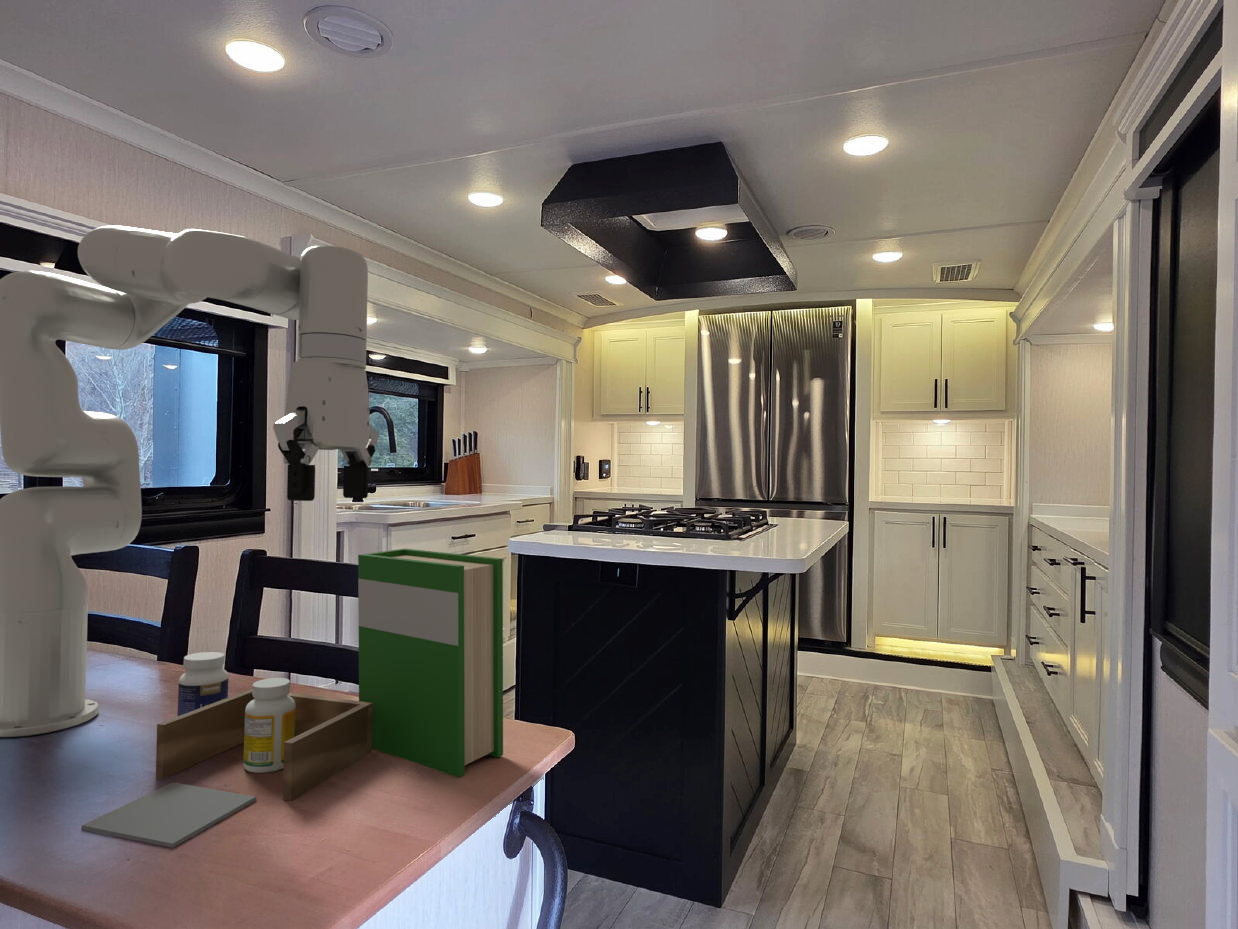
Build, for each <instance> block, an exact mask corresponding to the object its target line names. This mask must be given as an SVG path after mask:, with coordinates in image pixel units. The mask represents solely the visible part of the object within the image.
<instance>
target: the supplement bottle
mask: <svg viewBox="0 0 1238 929" xmlns="http://www.w3.org/2000/svg"><path fill="white" fill-rule="evenodd" d="M251 689H252V695H253V697H254V698H255V699H254V700H252V701H250V702H249V703H248V704H247V706H246V709H245V731H244V742H243V757H242V758H243V762H242V763H243V767H244V769H245V770H246V771H248V772H251V773H254V774H255V773H256V774H264V773H265V774H266V773H271V772H275V771H280V770H281V769H284V742H285V741H287V740H290V739H292V738H294V735H295V701H294V699H293V698H291V697H290V696H287V695H288V694H289V693H291V680H290V679H288V678H285V677H270V678H264V679H261V680H257V681H255V682H254V683H253V684H252V688H251Z"/></svg>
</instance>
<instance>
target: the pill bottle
mask: <svg viewBox="0 0 1238 929" xmlns="http://www.w3.org/2000/svg"><path fill="white" fill-rule="evenodd" d="M225 657H226V656H225V653H223V652H217V651H205V652H204V651H203V652H196V653H191V654H188V655H185V656H184V657H183V665H182V666H183V668H184V669H185V672H184V673H183V674H182V675H180V677H179V679H178V689H177V690H178V691H177V693H178V694H177V711H176V712H177V716H180V715H183V714H186V713H188V712H191V711H194V710H196V709H199V708H202V707H204V706H207V705H210V704H213V703H215V702H218V701H221V700H223V699H226V698H229V672H228V671H227V670H226V669H224V668H223V666H224V664H225V663H226V662H225V660H226V658H225ZM177 716H176V717H177Z"/></svg>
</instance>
